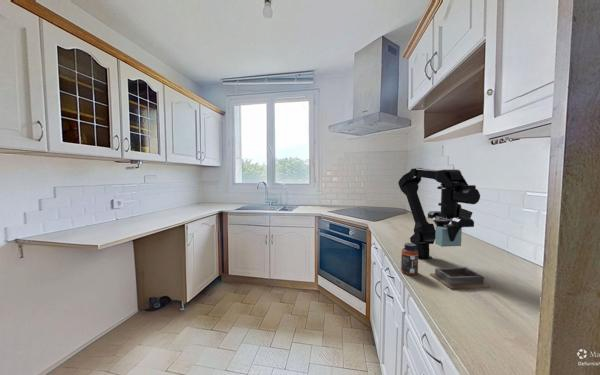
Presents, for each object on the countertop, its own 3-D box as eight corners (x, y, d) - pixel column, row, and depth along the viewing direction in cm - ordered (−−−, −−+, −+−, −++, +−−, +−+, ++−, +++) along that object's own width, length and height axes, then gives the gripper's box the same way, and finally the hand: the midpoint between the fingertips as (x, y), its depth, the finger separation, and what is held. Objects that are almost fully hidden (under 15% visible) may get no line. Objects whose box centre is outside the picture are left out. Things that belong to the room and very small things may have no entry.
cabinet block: (435, 243, 96) (435, 224, 95) (453, 242, 96) (454, 223, 96) (441, 246, 92) (442, 226, 91) (461, 246, 92) (461, 226, 92)
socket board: (430, 275, 89) (430, 267, 89) (464, 273, 90) (464, 265, 90) (450, 289, 78) (451, 280, 78) (489, 287, 79) (490, 278, 79)
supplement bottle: (417, 277, 87) (417, 247, 87) (399, 273, 90) (400, 245, 90) (418, 271, 92) (419, 243, 92) (402, 268, 96) (402, 241, 95)
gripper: (489, 203, 84) (487, 246, 85) (451, 198, 103) (450, 233, 104) (460, 204, 83) (458, 247, 84) (427, 198, 102) (426, 233, 103)
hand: (448, 239), depth 94 cm, fingers closed on cabinet block, 4 cm apart
